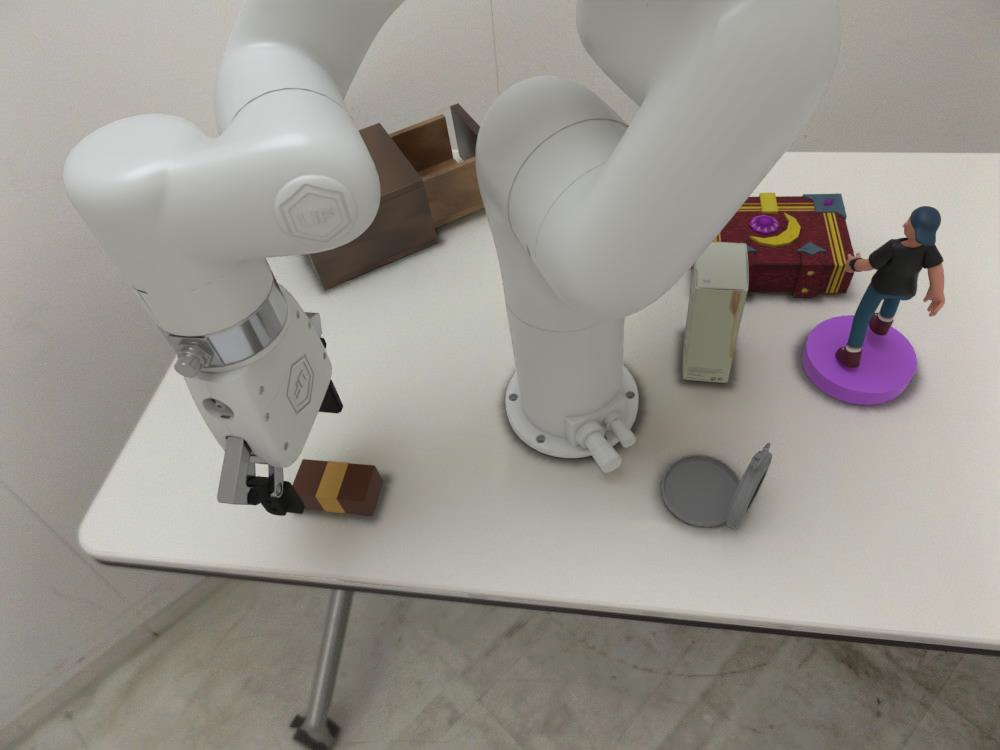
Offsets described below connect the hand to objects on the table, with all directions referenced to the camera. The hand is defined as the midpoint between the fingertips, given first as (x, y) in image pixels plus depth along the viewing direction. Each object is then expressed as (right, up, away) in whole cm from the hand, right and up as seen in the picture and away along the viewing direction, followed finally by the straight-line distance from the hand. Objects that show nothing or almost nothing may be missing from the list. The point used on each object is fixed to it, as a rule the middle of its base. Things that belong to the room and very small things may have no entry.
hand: (307, 456), depth 57 cm
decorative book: (+44, +19, +18) cm, 51 cm away
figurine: (+50, +8, +8) cm, 51 cm away
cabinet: (-1, +24, +29) cm, 38 cm away
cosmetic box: (+36, +8, +11) cm, 39 cm away
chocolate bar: (+2, -4, +6) cm, 7 cm away
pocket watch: (+34, -4, +1) cm, 34 cm away
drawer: (+11, +30, +31) cm, 44 cm away
